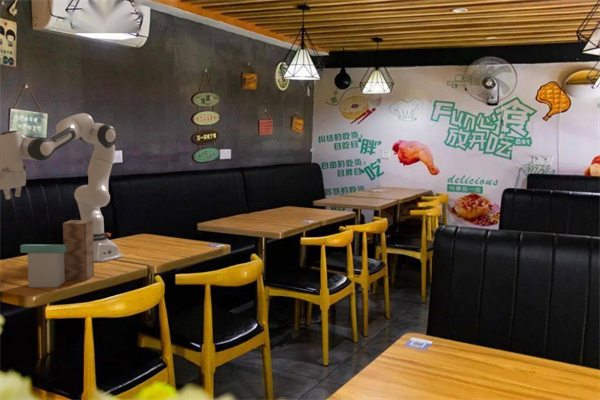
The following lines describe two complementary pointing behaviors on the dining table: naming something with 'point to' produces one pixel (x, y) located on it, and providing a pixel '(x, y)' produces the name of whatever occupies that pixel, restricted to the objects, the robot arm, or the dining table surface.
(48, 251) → the rail
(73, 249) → the stand
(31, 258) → the grey block
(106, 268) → the dining table surface
